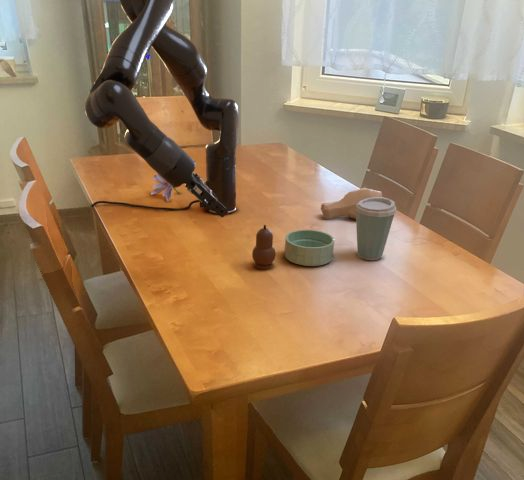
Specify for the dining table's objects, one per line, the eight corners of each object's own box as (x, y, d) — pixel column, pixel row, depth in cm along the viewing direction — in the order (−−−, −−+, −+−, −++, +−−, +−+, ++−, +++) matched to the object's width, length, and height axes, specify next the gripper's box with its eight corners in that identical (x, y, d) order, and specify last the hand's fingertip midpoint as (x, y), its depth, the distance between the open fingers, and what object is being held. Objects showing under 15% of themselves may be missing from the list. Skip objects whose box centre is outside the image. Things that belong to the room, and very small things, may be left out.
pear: (250, 270, 138) (251, 228, 132) (253, 260, 144) (254, 220, 137) (274, 271, 138) (276, 230, 132) (275, 262, 143) (277, 221, 137)
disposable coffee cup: (364, 266, 142) (372, 210, 134) (341, 251, 150) (347, 197, 142) (396, 259, 147) (406, 205, 138) (372, 245, 155) (380, 193, 146)
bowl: (283, 266, 141) (284, 246, 138) (285, 247, 152) (286, 228, 149) (332, 269, 140) (334, 249, 137) (331, 249, 151) (333, 231, 148)
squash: (388, 222, 172) (391, 196, 165) (326, 232, 170) (326, 206, 164) (377, 205, 179) (379, 180, 173) (318, 214, 178) (318, 189, 172)
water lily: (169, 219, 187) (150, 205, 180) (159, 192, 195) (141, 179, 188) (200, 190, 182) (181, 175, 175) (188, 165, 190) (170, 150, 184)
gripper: (153, 165, 126) (203, 210, 135) (163, 182, 115) (217, 230, 124) (175, 140, 125) (224, 187, 134) (186, 155, 113) (239, 206, 123)
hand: (220, 208), depth 129 cm, fingers open, 8 cm apart
